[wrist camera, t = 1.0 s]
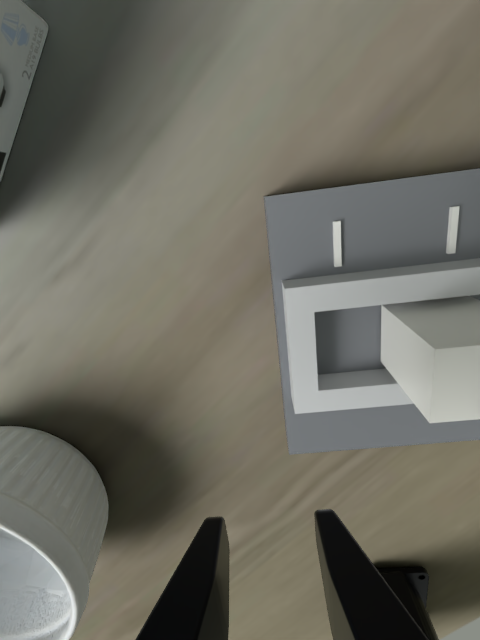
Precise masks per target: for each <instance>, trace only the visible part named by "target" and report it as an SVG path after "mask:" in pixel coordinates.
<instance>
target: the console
mask: <svg viewBox="0 0 480 640" xmlns="http://www.w3.org/2000/svg"><path fill="white" fill-rule="evenodd" d="M264 205H265V216H266V227H267V237H268V248H269V258H270V269H271V279H272V290H273V300H274V311H275V322H276V332H277V343H278V353H279V364H280V374H281V385H282V395H283V406H284V417H285V427H286V436H287V442H288V449H289V454H302V453H315V452H328V451H341V450H353V449H366V448H379V447H392V446H405V445H418V444H430V443H443V442H456V441H469V440H480V419H477V420H464V421H452V422H440V423H429V422H428V421H427V419H426V418H425V417H424V416H423V414H422V413H421V412H420V411H419V409H418V408H417V407H416V406H415V404H414V403H413V402H412V400H411V399H410V398H409V397H408V395H407V394H406V393H405V392H404V390H403V389H402V388H401V387H400V385H399V384H398V383H397V381H396V380H395V379H394V378H393V376H392V375H391V374H390V373H389V371H388V370H387V369H386V367H385V366H384V365H383V364H382V362H381V307H382V305H386V304H395V303H404V302H414V301H423V300H432V299H442V298H451V297H460V296H471V297H473V298H475V299H478V300H480V168H477V169H469V170H462V171H454V172H447V173H439V174H432V175H424V176H416V177H409V178H401V179H394V180H386V181H378V182H371V183H363V184H356V185H348V186H341V187H333V188H325V189H318V190H310V191H303V192H295V193H288V194H280V195H272V196H265V197H264Z"/></svg>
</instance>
